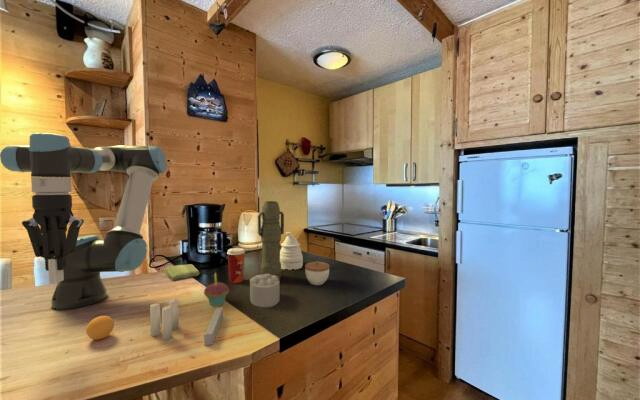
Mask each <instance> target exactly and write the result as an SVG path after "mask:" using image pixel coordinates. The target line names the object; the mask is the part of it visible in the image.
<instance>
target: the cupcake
mask: <svg viewBox="0 0 640 400" xmlns="http://www.w3.org/2000/svg"><path fill="white" fill-rule="evenodd" d="M203 293H204V294H203V295H205V297H206V298H207V299H208V300H209V301H208V302H209V304H210V305H211V306H220V305H223V304H224V303H225V301H226V297H227V295H228V294H229V293H230V286H229V285H228V284H227V283H224V282H219V281H218V280H217V272H216V271H215V272H214V282H213V283H211V284H209V285H207V286H206V287H205V289H204V292H203Z"/></svg>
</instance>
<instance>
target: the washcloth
mask: <svg viewBox="0 0 640 400" xmlns="http://www.w3.org/2000/svg"><path fill="white" fill-rule="evenodd" d="M164 274H165V275H166V276H167V277H168V279H170V281H177V280H182V279H187V278H194V277H199V275H200V271H199V270H198V269H197V268H196V267H195V266H194V265H193V264H191V263H190V264H189V263H188V264H177V265H175V266H166V267H165V270H164Z"/></svg>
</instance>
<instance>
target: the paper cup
mask: <svg viewBox="0 0 640 400" xmlns="http://www.w3.org/2000/svg"><path fill="white" fill-rule="evenodd" d="M245 253H246V251H245V249H244V248H242V247H234V248H229V249H227V252H226V254H227V263H228V266H227V267H228V276H229V277H228V279H229V283H231V284H239V283H240V284H241V283H242V282H243V281H244V270H245V268H244V267H245Z"/></svg>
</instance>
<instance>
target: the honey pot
mask: <svg viewBox="0 0 640 400" xmlns="http://www.w3.org/2000/svg"><path fill="white" fill-rule="evenodd" d="M291 233H292V232H291V231H286V232H285V236H286V237H285V239H284V241H283V242H282V243H280V262H281V270H285V269H288V270H287V271H289V270H290V271H292V269H294V270H300V269H301V268H303V267H302V266H303V263H304V260H303V257H304V256H303V254H302V252H303V251H302V249H301V247H300V246H301V243H300V242H298V240H297V238H296V237H295V236H294V235H293V234H291Z"/></svg>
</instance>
